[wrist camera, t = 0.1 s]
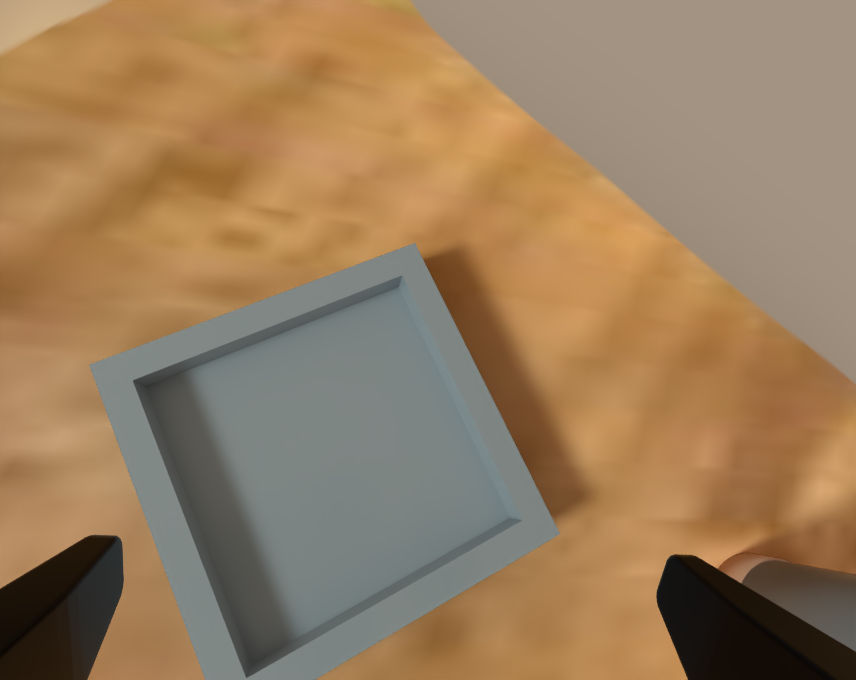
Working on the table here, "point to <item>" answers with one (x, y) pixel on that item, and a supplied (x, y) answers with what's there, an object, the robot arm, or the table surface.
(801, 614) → the grey rounded peg
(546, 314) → the table surface
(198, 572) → the tray
